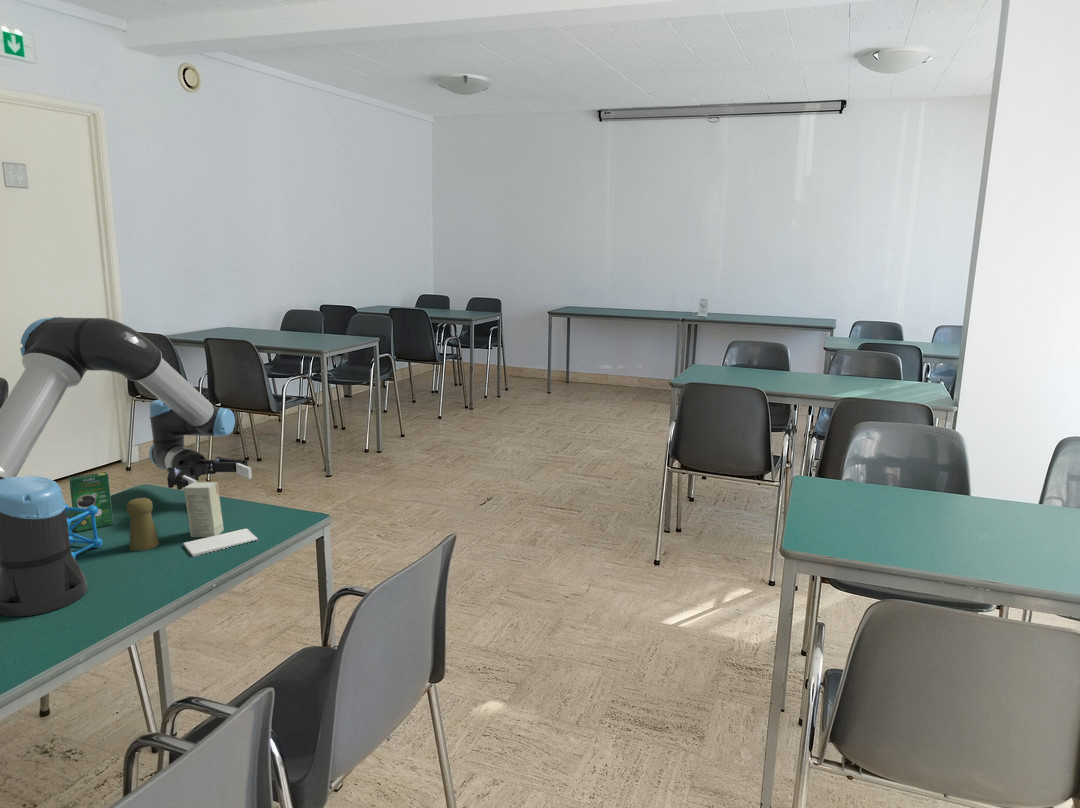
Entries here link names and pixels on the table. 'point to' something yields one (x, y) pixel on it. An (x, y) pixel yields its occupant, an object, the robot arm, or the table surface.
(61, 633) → the table surface
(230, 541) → the mat
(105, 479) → the coffee box
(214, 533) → the skincare box
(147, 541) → the cork
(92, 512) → the molecular structure
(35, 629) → the table surface
